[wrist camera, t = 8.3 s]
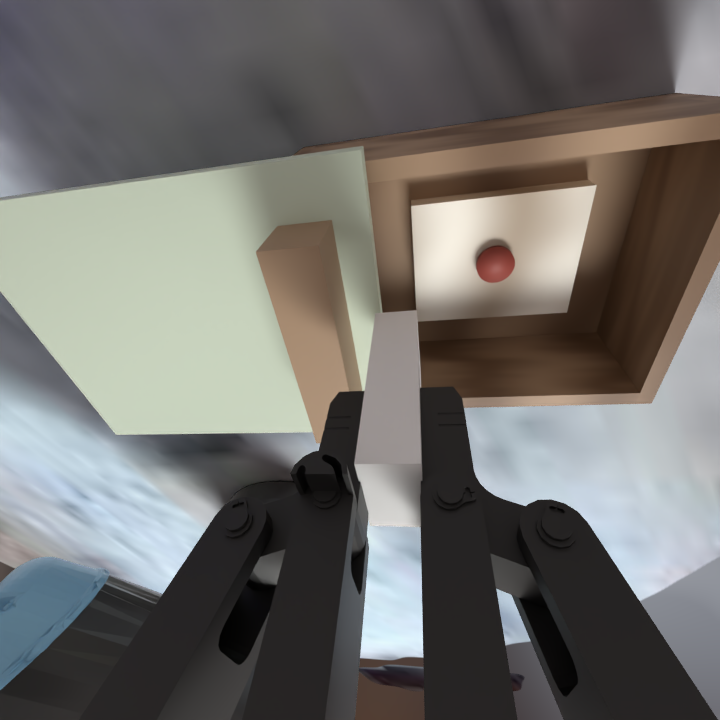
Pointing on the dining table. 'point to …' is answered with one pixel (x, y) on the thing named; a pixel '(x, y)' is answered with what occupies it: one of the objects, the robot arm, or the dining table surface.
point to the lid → (203, 292)
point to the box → (549, 246)
